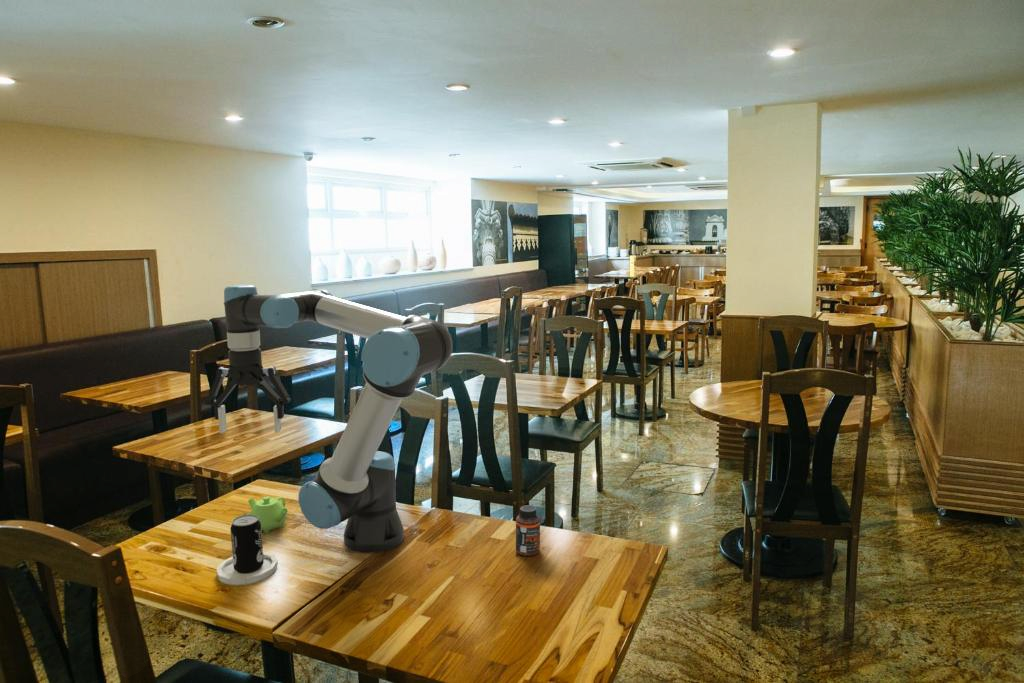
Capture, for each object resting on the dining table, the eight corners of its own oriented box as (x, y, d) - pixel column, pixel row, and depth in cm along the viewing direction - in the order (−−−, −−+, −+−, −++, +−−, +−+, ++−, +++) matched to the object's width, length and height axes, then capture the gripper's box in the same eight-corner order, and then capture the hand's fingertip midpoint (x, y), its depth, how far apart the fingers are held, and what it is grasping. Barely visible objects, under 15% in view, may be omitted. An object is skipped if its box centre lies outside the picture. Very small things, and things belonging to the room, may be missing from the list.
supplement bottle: (527, 559, 167) (526, 515, 165) (510, 551, 171) (510, 507, 169) (545, 551, 171) (545, 508, 169) (528, 543, 175) (528, 501, 173)
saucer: (283, 557, 169) (283, 551, 168) (266, 584, 156) (266, 578, 156) (230, 558, 168) (229, 552, 168) (208, 586, 156) (207, 579, 155)
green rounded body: (292, 516, 192) (290, 487, 190) (288, 534, 181) (286, 504, 179) (250, 520, 190) (247, 491, 188) (243, 539, 179) (240, 508, 177)
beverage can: (253, 576, 158) (250, 526, 156) (228, 573, 159) (223, 524, 157) (269, 562, 165) (265, 514, 162) (244, 560, 166) (240, 512, 164)
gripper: (299, 344, 174) (304, 426, 178) (199, 346, 173) (206, 427, 177) (291, 350, 167) (296, 435, 170) (186, 351, 166) (194, 436, 170)
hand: (250, 431), depth 174 cm, fingers open, 13 cm apart
